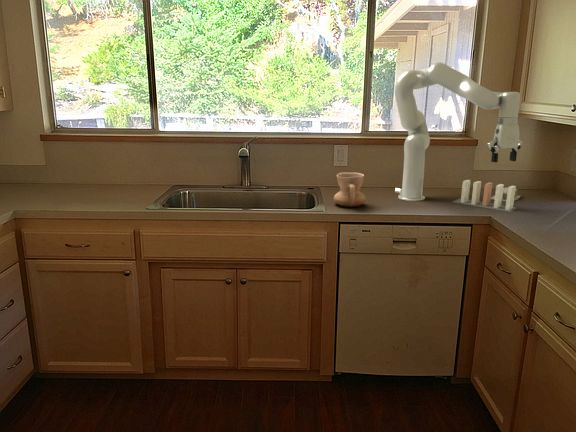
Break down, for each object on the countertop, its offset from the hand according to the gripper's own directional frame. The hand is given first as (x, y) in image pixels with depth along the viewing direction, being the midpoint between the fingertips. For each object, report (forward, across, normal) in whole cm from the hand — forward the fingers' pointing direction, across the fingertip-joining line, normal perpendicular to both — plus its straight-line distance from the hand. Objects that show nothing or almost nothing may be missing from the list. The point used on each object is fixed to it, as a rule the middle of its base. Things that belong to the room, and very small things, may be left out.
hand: (503, 161), depth 202 cm
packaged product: (+22, +17, +16) cm, 32 cm away
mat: (+21, -4, +6) cm, 22 cm away
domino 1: (+20, -8, +13) cm, 25 cm away
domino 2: (+20, -6, +9) cm, 23 cm away
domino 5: (+21, +2, -4) cm, 21 cm away
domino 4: (+20, 0, 0) cm, 21 cm away
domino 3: (+20, -3, +4) cm, 21 cm away
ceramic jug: (+20, -63, +23) cm, 70 cm away
